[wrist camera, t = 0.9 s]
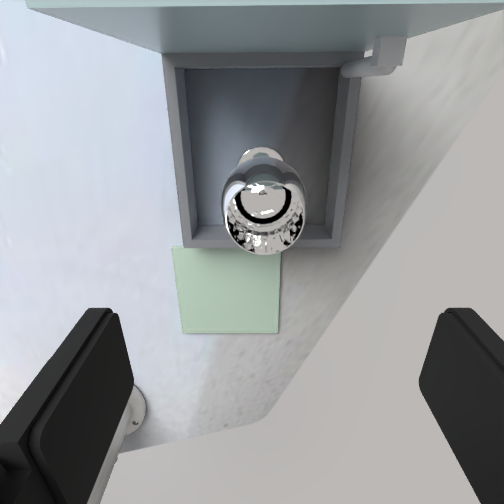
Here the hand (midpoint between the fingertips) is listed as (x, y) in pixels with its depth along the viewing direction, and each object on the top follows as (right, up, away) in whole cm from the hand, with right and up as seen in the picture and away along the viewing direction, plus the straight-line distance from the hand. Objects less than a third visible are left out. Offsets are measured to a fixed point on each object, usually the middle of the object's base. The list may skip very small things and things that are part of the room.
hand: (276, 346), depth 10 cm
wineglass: (0, +10, +20) cm, 23 cm away
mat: (-3, -1, +26) cm, 26 cm away
